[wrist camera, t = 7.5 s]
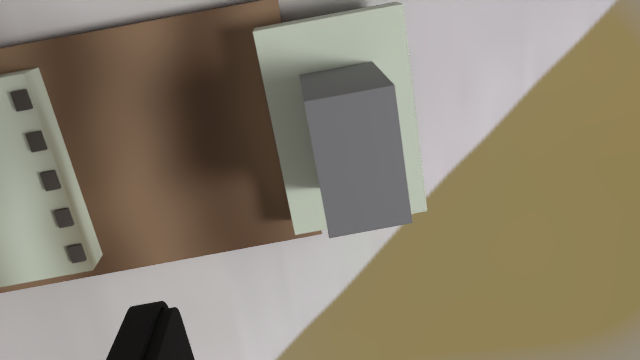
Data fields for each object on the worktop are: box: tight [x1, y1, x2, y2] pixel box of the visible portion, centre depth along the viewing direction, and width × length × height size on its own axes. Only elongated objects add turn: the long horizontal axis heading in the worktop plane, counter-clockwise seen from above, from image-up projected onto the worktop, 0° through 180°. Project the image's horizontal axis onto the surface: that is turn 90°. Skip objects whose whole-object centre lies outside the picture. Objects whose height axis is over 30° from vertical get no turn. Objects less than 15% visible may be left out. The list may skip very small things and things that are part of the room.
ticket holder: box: [0, 0, 322, 293], centre depth 26 cm, size 20×11×3 cm, turn 100°
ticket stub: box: [253, 2, 427, 238], centre depth 23 cm, size 6×9×6 cm, turn 10°
